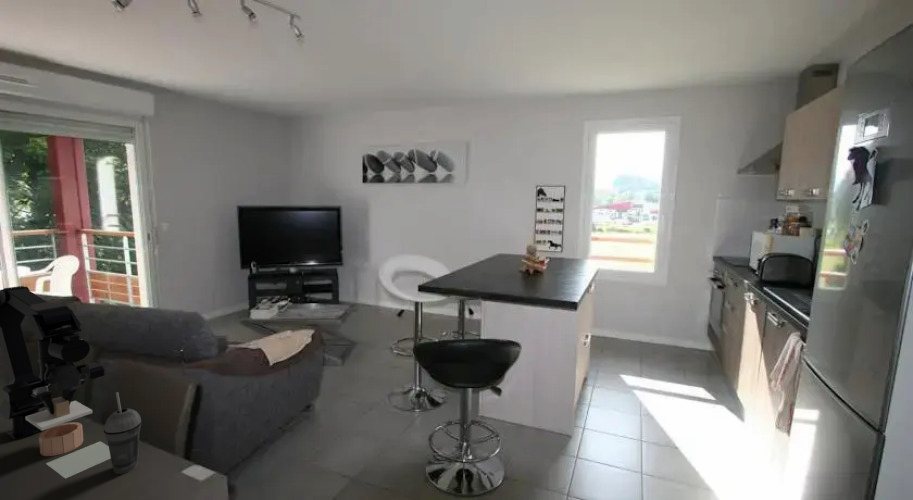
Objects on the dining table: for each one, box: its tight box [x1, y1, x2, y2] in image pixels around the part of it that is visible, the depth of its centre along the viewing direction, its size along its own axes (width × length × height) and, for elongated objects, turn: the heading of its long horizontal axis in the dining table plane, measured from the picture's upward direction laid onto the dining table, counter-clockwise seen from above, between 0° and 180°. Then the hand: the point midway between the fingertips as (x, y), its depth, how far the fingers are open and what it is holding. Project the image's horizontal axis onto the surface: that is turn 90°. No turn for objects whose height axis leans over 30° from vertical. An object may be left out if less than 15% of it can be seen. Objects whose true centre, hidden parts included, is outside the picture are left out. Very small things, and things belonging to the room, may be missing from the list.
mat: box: [45, 440, 111, 480], centre depth 103 cm, size 11×11×1 cm
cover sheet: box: [25, 396, 93, 432], centre depth 107 cm, size 10×10×4 cm
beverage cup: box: [103, 391, 143, 475], centre depth 99 cm, size 7×7×20 cm
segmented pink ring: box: [38, 421, 84, 457], centre depth 108 cm, size 8×8×5 cm
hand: (59, 411), depth 107 cm, fingers closed on cover sheet, 2 cm apart
